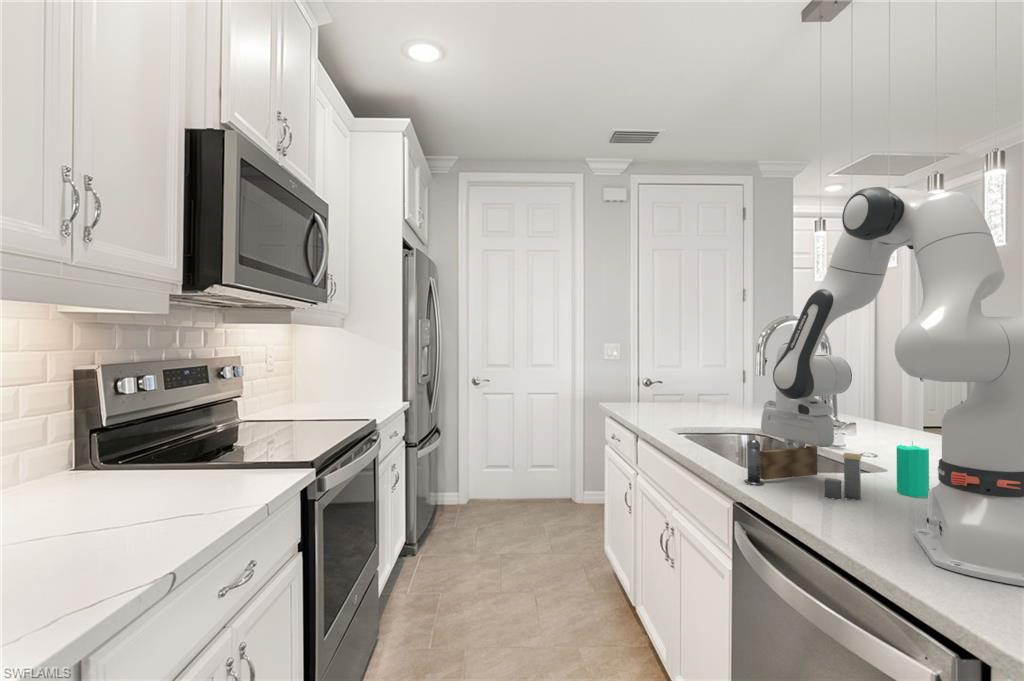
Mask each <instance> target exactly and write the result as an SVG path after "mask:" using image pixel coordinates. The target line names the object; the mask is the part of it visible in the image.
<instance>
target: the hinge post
mask: <svg viewBox="0 0 1024 681" xmlns="http://www.w3.org/2000/svg"><path fill="white" fill-rule="evenodd" d="M746 448H747V449H746V450H747V454H746V456H747V458H746V459H747V479H744V480H743V483H744V482H745V483H747V484H746V485H748V484H750V485H749V486H754V485H755V486H758V487H760V486H763V485H765V483H764V480H763V481H762V480H761V478H760V451H761V443H760V442H759V440H758V439H755V438H751V439H749V440H748V441H747V443H746ZM745 483H744V484H745Z"/></svg>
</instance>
